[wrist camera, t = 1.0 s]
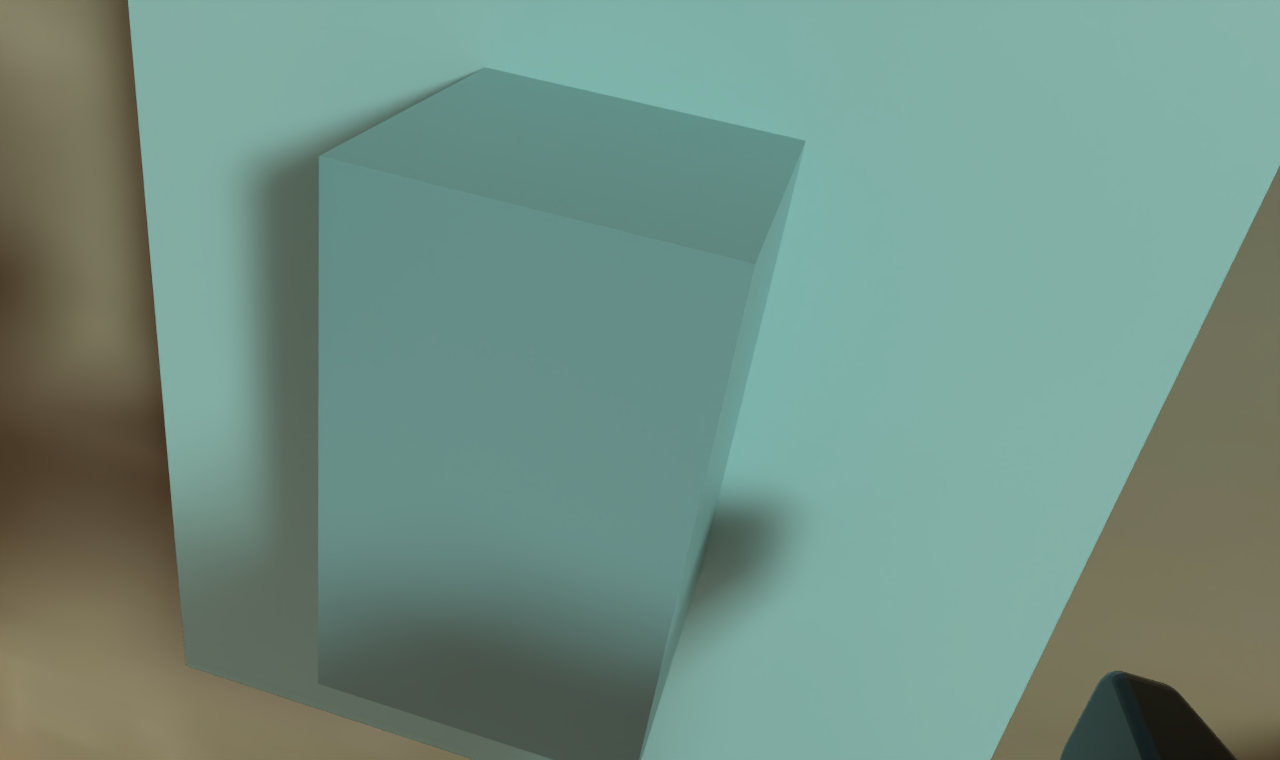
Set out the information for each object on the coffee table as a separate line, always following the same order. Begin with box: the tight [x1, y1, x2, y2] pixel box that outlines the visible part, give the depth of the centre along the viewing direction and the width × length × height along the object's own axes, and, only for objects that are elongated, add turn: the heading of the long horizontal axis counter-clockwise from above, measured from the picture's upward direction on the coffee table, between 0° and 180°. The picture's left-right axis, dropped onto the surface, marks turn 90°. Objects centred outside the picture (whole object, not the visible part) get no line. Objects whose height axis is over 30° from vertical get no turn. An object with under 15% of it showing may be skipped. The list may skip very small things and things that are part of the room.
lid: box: [128, 0, 1280, 760], centre depth 10 cm, size 13×10×6 cm
